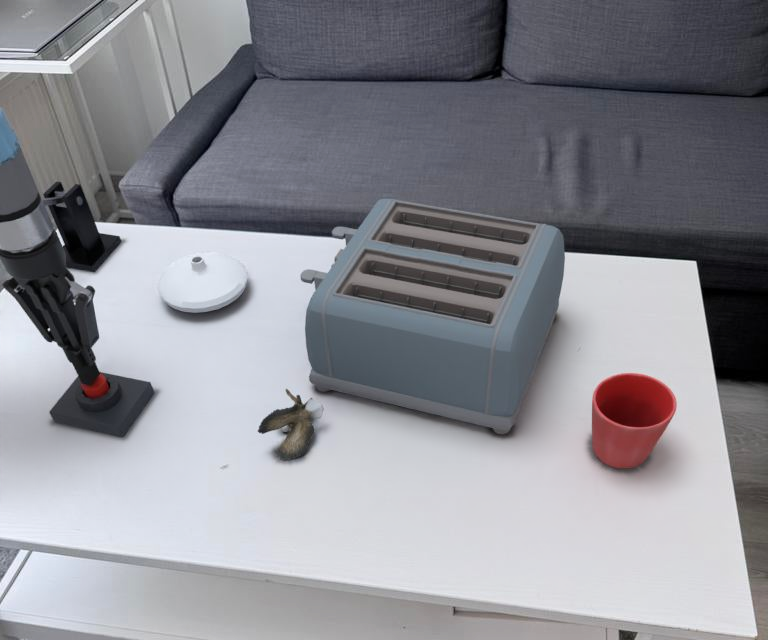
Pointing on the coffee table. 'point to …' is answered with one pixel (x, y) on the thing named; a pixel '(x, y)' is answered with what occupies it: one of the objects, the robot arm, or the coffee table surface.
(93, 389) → the button
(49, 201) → the lever
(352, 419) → the coffee table surface
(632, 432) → the flower pot
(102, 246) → the bracket
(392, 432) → the coffee table surface
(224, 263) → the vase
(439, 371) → the toaster
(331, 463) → the coffee table surface
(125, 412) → the control block
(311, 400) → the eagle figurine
